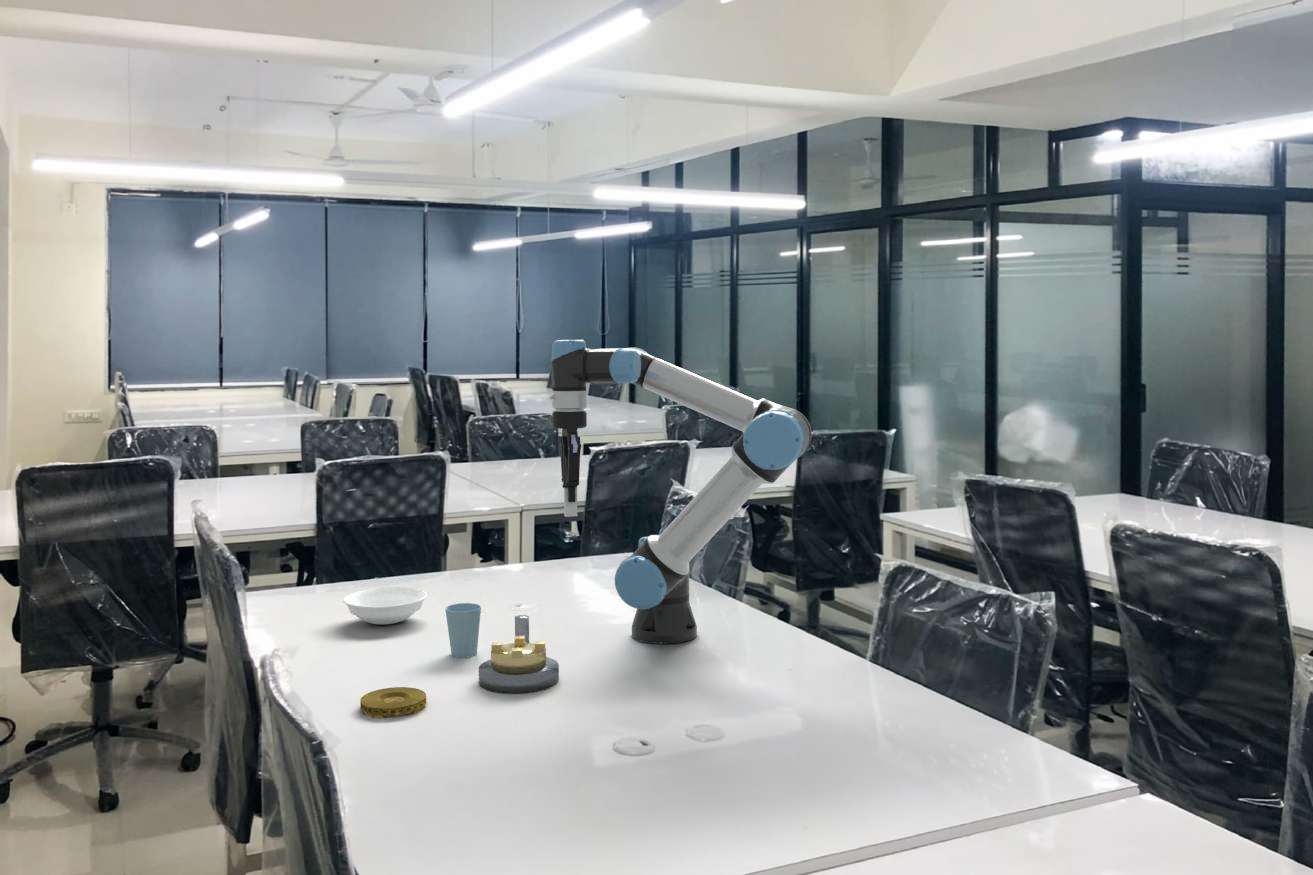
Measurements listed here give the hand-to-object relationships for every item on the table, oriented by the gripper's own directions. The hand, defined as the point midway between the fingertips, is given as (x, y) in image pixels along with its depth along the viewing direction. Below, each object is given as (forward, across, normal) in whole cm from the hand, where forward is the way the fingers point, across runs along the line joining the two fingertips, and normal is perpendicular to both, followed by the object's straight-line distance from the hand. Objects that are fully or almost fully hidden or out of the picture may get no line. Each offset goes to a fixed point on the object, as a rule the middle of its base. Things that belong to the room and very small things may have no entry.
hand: (570, 515), depth 239 cm
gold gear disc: (+30, +31, -40) cm, 59 cm away
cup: (+30, 0, -24) cm, 38 cm away
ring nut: (+28, +18, -14) cm, 36 cm away
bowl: (+30, -32, -40) cm, 59 cm away
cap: (+29, +22, -15) cm, 40 cm away
